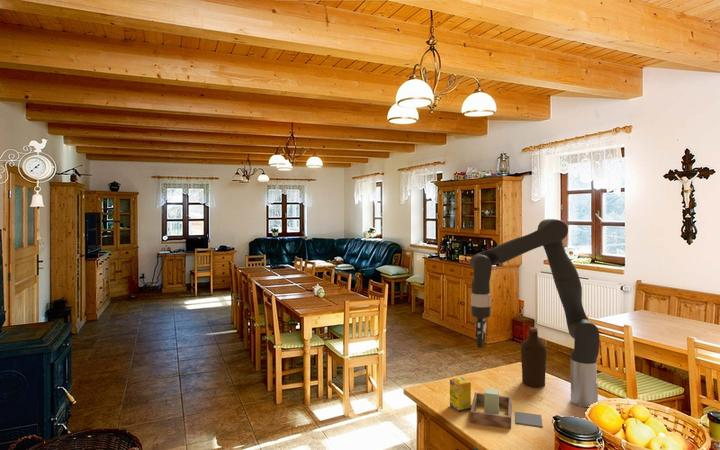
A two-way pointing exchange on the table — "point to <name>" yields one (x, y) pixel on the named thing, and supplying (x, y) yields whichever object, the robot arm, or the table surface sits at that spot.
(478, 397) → the frame
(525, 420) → the mat
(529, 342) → the olive oil
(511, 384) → the table surface
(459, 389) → the supplement box
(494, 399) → the block
